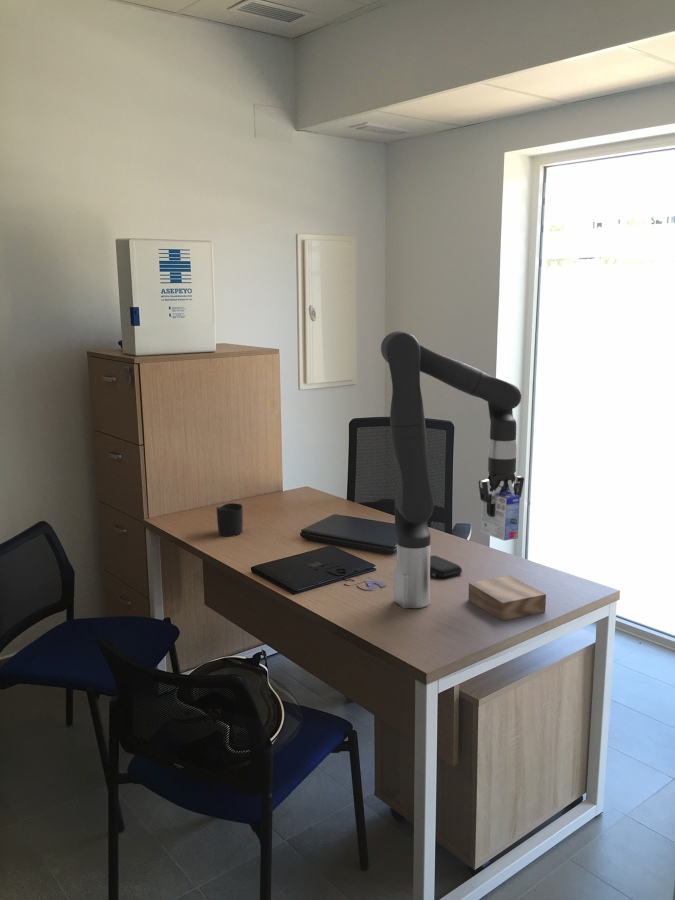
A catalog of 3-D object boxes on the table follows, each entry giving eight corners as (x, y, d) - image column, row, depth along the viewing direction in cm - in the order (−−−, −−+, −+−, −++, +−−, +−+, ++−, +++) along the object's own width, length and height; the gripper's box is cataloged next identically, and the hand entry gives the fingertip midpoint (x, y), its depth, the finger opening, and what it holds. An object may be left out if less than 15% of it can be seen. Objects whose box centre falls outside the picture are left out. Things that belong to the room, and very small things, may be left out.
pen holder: (245, 535, 279) (244, 509, 278) (218, 537, 277) (217, 511, 275) (241, 528, 288) (240, 502, 286) (216, 530, 286) (215, 504, 284)
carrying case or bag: (408, 568, 245) (437, 582, 233) (408, 559, 244) (437, 572, 232) (434, 562, 250) (464, 575, 238) (434, 553, 250) (465, 565, 238)
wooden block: (502, 620, 204) (502, 602, 203) (468, 599, 218) (468, 582, 217) (545, 611, 209) (545, 594, 208) (509, 591, 223) (510, 575, 223)
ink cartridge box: (519, 538, 213) (521, 487, 210) (505, 541, 210) (506, 490, 207) (494, 529, 221) (495, 480, 218) (479, 532, 218) (481, 483, 216)
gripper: (488, 460, 205) (486, 521, 208) (532, 455, 211) (529, 515, 214) (472, 455, 212) (470, 514, 215) (515, 450, 218) (512, 508, 221)
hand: (500, 514), depth 215 cm, fingers closed on ink cartridge box, 5 cm apart
